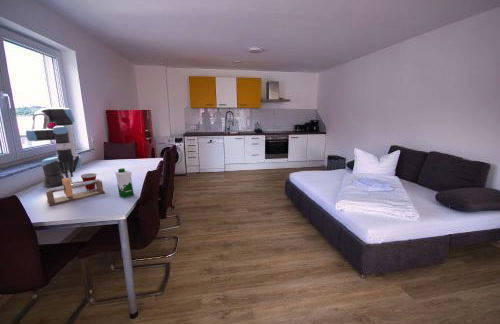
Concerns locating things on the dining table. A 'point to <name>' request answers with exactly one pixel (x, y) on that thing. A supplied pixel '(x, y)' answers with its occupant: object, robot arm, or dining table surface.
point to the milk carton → (124, 183)
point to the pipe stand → (74, 195)
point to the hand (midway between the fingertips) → (70, 181)
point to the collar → (67, 187)
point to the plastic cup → (88, 178)
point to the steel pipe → (75, 185)
